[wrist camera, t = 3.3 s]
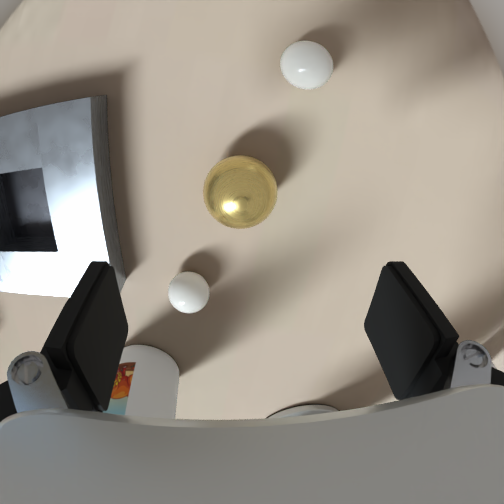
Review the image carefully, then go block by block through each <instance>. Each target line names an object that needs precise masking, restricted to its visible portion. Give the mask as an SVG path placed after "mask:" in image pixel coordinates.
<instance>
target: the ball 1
mask: <svg viewBox="0 0 504 504" xmlns="http://www.w3.org/2000/svg"><path fill="white" fill-rule="evenodd" d="M209 295H210V291H209V286H208V284H207V282H206V280H205V279H204V278H203V277H202V276H201V275H199V274H197V273H195V272H182V273H180V274H178V275H176V276H175V277H174V278H173V279H172V281H171V282H170V284H169V288H168V297H169V300H170V302H171V304H172V305H173V306H174V307H175V308H176V309H177V310H178V311H180V312H183V313H195V312H198V311H200V310H201V309H202V308H203V307H204V306H205V305H206V304H207V302H208V299H209Z"/></svg>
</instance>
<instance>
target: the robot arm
mask: <svg viewBox="0 0 504 504" xmlns="http://www.w3.org/2000/svg"><path fill="white" fill-rule="evenodd" d="M364 328H365V331H366V334H367V336H368V338H369V340H370V342H371V344H372V346H373V349H374V351H375V353H376V355H377V357H378V360H379V362H380V364H381V366H382V369H383V371H384V373H385V375H386V378H387V380H388V382H389V385H390V387H391V389H392V392H393V394H394V396H395V398H396V399H397V400H399V401H394V402H390V403H385V404H380V405H374V406H369V407H363V408H357V409H351V410H344V411H338V410H337V409H335V408H333V407H330V406H326V405H304V406H298V407H294V408H290V409H286V410H283V411H281V412H278V413H276V414H274V415H272V416H270V417H269V418H266V419H243V420H190V419H168V418H153V417H140V416H128V415H118V414H110V413H103V411H107V410H108V407H109V403H110V398H111V394H112V390H113V386H114V382H115V378H116V374H117V371H118V367H119V363H120V360H121V356H122V352H123V349H124V345H125V342H126V338H127V335H128V323H127V319H126V316H125V312H124V308H123V304H122V300H121V296H120V292H119V287H118V283H117V278H116V274H115V269H114V267H113V266H112V265H109V263H108V262H107V261H91V262H90V264H89V265H88V267H87V269H86V270H85V272H84V274H83V275H82V277H81V279H80V280H79V282H78V284H77V285H76V287H75V289H74V291H73V292H72V294H71V296H70V298H69V299H68V301H67V302H66V304H65V306H64V307H63V309H62V311H61V313H60V315H59V317H58V319H57V320H56V322H55V324H54V326H53V328H52V330H51V332H50V334H49V336H48V338H47V340H46V342H45V344H44V346H43V348H42V350H41V352H40V353H39V352H35V351H28V352H25V353H22V354H20V355H19V356H17V357H16V358H15V359H14V360H13V361H12V362H11V364H10V365H9V367H8V371H7V379H8V380H7V381H5V382H4V383H2V384H0V504H504V372H502V371H500V370H497V369H495V368H493V367H491V366H492V361H491V356H490V354H489V352H488V351H487V350H486V348H485V347H483V346H482V345H481V344H479V343H477V342H475V341H471V340H466V341H463V342H461V343H460V344H459V345H458V343H457V342H456V341H457V339H458V337H459V335H458V333H457V332H456V330H455V329H454V328H453V326H452V325H451V323H450V322H449V321H448V319H447V318H446V316H445V315H444V314H443V312H442V311H441V309H440V308H439V307H438V305H437V304H436V303H435V301H434V300H433V299H432V297H431V296H430V295H429V293H428V292H427V291H426V289H425V288H424V287H423V285H422V284H421V283H420V282H419V280H418V279H417V278H416V276H415V275H414V274H413V273H412V271H411V270H410V269H409V268H408V266H407V265H406V264H405V263H404V262H388V263H387V264H386V266H383V268H382V270H381V274H380V277H379V280H378V283H377V286H376V289H375V293H374V296H373V299H372V302H371V305H370V307H369V310H368V313H367V316H366V319H365V322H364Z"/></svg>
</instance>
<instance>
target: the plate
mask: <svg viewBox="0 0 504 504" xmlns="http://www.w3.org/2000/svg"><path fill="white" fill-rule="evenodd" d="M91 261H107V262H108V263H109V265H112V266H113V267H114V269H115V274H116V278H117V283H118V287H119V292H121V290H122V288H123V285H124V283H125V281H126V276H125V271H124V265H123V260H122V254H121V248H120V242H119V236H118V229H117V222H116V215H115V207H114V199H113V191H112V181H111V171H110V159H109V145H108V127H107V95H103V96H95V97H88V98H82V99H76V100H70V101H65V102H60V103H55V104H50V105H45V106H41V107H36V108H32V109H28V110H24V111H20V112H16V113H13V114H9V115H6V116H2V117H0V291H3V292H13V293H24V294H36V295H48V296H62V297H70V296H71V294H72V292H73V291H74V289H75V287H76V285H77V284H78V282H79V280H80V279H81V277H82V275H83V274H84V272H85V270H86V269H87V267H88V265H89V264H90V262H91Z"/></svg>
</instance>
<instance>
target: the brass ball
mask: <svg viewBox="0 0 504 504" xmlns="http://www.w3.org/2000/svg"><path fill="white" fill-rule="evenodd" d="M203 196H204V202H205V205H206V207H207V209H208V211H209V213H210V214H211V215H212V216H213V217H214V218H215V219H216V220H217V221H218V222H219V223H221V224H223V225H225V226H227V227H230V228H236V229H245V228H250V227H253V226H255V225H258V224H259V223H261V222H262V221H264V220H265V219H266V218H267V217H268V216H269V215H270V213H271V212H272V210H273V208H274V206H275V203H276V200H277V184H276V180H275V178H274V175H273V174H272V172H271V171H270V169H269V168H268V167H267V166H266V165H265V164H264V163H262V162H261V161H260V160H258V159H256V158H253V157H250V156H244V155H236V156H231V157H228V158H225V159H223V160H222V161H220V162H218V163H217V164H216V165H215V166H214V167H213V168H212V169H211V170H210V172H209V173H208V175H207V177H206V180H205V182H204V188H203Z"/></svg>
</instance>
